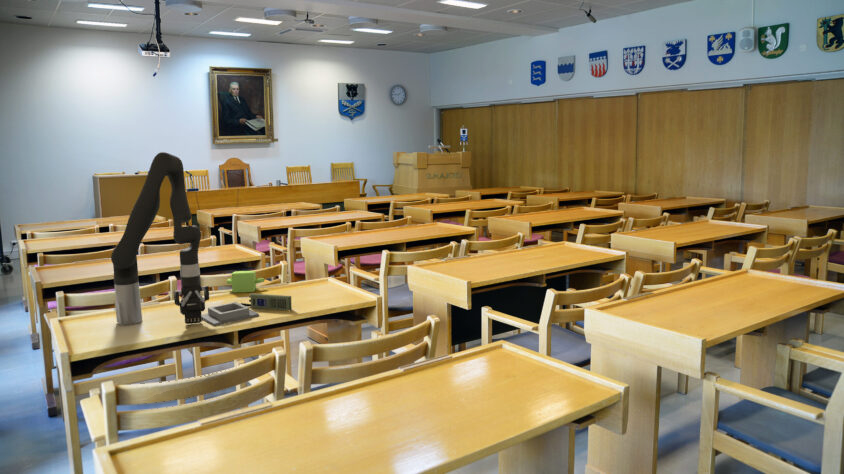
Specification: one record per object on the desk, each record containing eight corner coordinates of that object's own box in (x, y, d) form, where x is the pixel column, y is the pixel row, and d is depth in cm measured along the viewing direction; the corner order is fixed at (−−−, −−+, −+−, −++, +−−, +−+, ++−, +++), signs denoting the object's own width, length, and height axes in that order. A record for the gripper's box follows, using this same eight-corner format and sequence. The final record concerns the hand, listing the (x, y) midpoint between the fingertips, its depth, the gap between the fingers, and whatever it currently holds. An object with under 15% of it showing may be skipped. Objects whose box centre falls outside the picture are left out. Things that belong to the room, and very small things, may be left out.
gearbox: (265, 287, 321) (265, 269, 320) (263, 291, 311) (263, 273, 310) (229, 288, 318) (228, 270, 317) (226, 292, 309) (225, 274, 307)
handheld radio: (289, 311, 278) (238, 308, 284) (292, 309, 281) (242, 306, 287) (288, 297, 277) (238, 293, 283) (292, 295, 280) (242, 292, 286)
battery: (184, 325, 258) (182, 298, 256) (184, 322, 261) (182, 296, 259) (202, 323, 260) (200, 297, 258) (202, 320, 263) (200, 294, 261)
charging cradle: (214, 326, 258) (213, 316, 258) (199, 317, 270) (198, 308, 269) (258, 315, 271) (258, 307, 271) (242, 308, 283) (241, 299, 282)
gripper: (175, 278, 250) (178, 318, 252) (210, 273, 259) (213, 311, 262) (169, 275, 255) (172, 314, 258) (203, 269, 264) (206, 307, 267)
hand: (193, 312), depth 260 cm, fingers closed on battery, 7 cm apart
